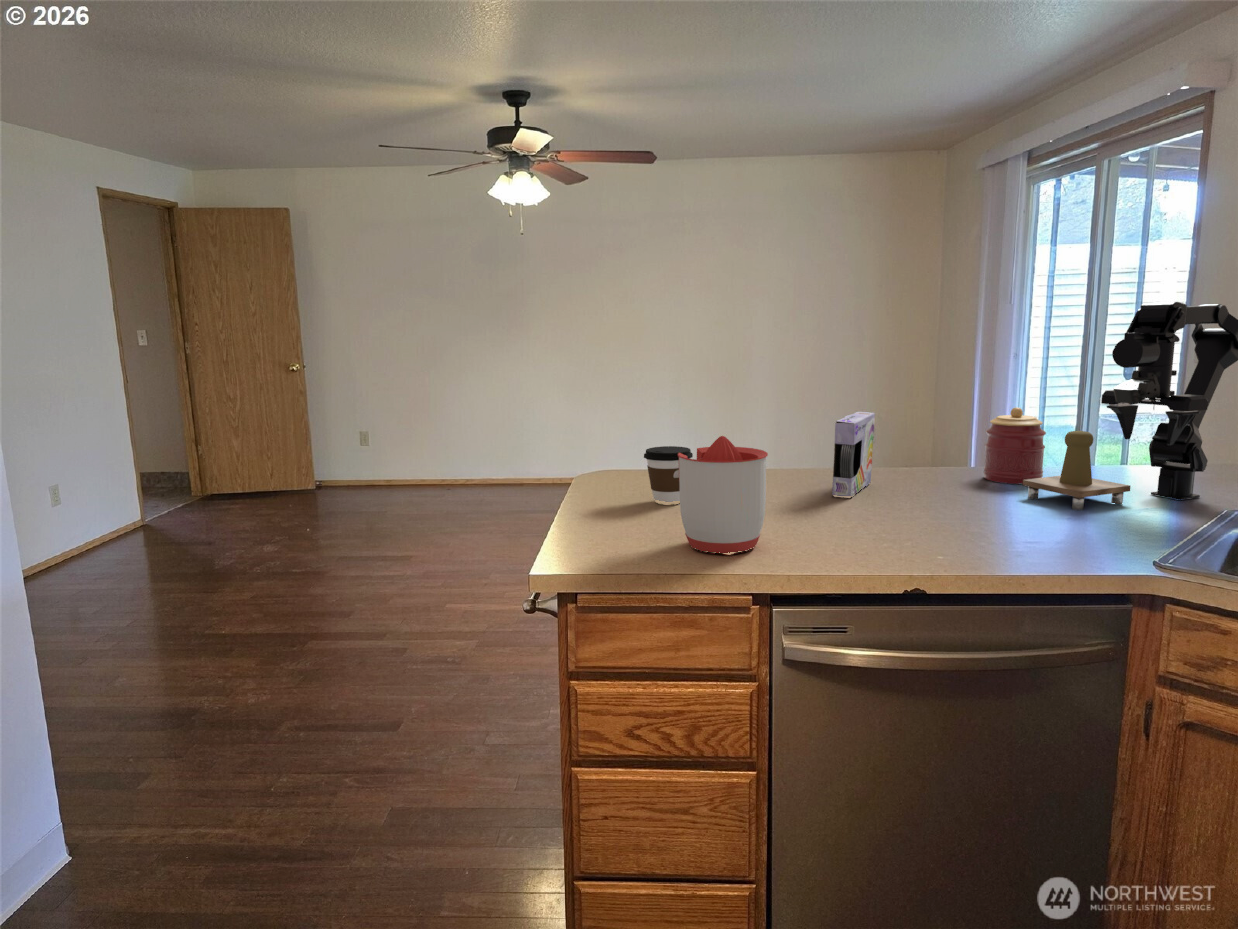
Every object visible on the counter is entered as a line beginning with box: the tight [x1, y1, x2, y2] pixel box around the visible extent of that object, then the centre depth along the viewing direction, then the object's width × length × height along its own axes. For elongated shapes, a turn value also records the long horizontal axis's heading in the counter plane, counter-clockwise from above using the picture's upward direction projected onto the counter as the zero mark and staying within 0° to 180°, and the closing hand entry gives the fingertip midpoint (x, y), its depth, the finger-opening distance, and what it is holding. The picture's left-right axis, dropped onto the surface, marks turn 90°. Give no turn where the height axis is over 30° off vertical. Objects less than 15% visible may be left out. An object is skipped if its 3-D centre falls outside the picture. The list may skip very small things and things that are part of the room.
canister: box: [983, 406, 1047, 485], centre depth 189 cm, size 13×13×18 cm
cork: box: [1059, 430, 1094, 485], centre depth 165 cm, size 6×6×11 cm
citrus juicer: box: [674, 435, 769, 553], centre depth 138 cm, size 16×17×20 cm
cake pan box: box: [831, 411, 876, 496], centre depth 180 cm, size 19×5×18 cm, turn 148°
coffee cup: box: [643, 445, 694, 502], centre depth 174 cm, size 11×11×12 cm
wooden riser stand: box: [1027, 486, 1125, 511], centre depth 166 cm, size 13×13×3 cm
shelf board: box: [1022, 475, 1131, 498], centre depth 166 cm, size 14×14×1 cm
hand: (1148, 441), depth 161 cm, fingers open, 9 cm apart
